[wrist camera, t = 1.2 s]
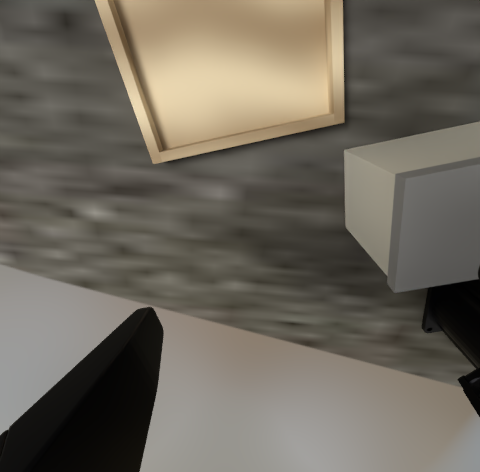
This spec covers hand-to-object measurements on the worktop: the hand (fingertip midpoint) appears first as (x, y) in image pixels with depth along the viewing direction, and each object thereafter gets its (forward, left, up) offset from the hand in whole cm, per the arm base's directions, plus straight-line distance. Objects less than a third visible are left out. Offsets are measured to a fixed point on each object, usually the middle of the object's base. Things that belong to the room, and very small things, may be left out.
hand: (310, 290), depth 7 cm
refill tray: (+8, +1, -13) cm, 15 cm away
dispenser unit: (-3, -10, -13) cm, 17 cm away
